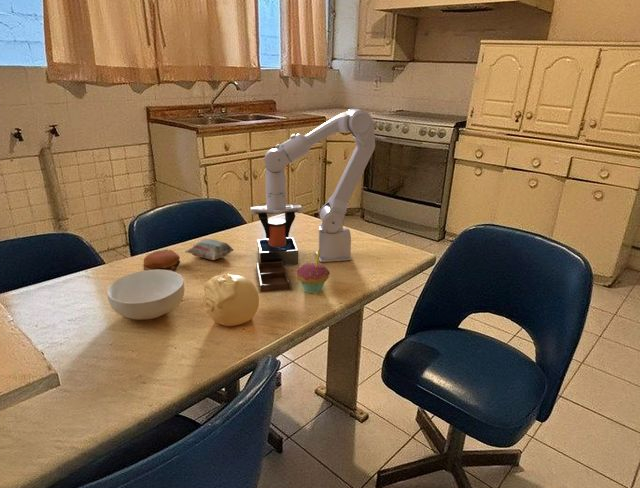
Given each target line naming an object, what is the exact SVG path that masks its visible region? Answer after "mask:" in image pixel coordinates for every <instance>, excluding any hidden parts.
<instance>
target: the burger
mask: <svg viewBox="0 0 640 488" xmlns="http://www.w3.org/2000/svg"><path fill="white" fill-rule="evenodd" d="M180 259H181V256H180V254H178V253H177V252H175V251H174V250H172V249H161V250H156V251H153V252H150V253H148V254H147V255H146V256H145V257H144V259H143V271H146V270H169V271H174V270H175V269H177V268H178V267H179V265H180V264H181V261H180Z"/></svg>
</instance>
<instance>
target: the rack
mask: <svg viewBox="0 0 640 488" xmlns="http://www.w3.org/2000/svg"><path fill="white" fill-rule="evenodd" d="M256 273H257V278H258V284H259V290H260V293H265V292H277V291H288V290H290V289H291V283H290V279H289V277H288V274H287V273H288V272H287V270H286V267H285V265H284V264H283V261H281V262H267V263H260V262H257V263H256Z"/></svg>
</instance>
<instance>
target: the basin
mask: <svg viewBox="0 0 640 488" xmlns="http://www.w3.org/2000/svg"><path fill="white" fill-rule="evenodd" d="M257 255H258V259H259V263H267V262H281V261H283V264H284V266H296V265H299V248H298V246H297V244H296V242H295V239H294V236H293V237H287V238H286V245H284V246H281V247H272V246H270V245H269V241H268V239H266V238H259V239H258V238H257Z"/></svg>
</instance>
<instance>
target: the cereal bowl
mask: <svg viewBox="0 0 640 488" xmlns="http://www.w3.org/2000/svg"><path fill="white" fill-rule="evenodd" d="M185 285H186V284H185V280H184V277H183V276H182V275H181V274H180V273H178V272H176V271H174V270H172V271H169V270H146V271H144V270H141V271H136V272H132V273H128V274H126V275H124V276H121V277H120V278H117V279H116V280H114V281H113V282H112V283H110V284H109V285H108V287H107V290H106V297H107V301H108V304H109V305H110V307H111V309H112V310H113V311H114V312H115V313H116V314H118V315H119V316H121V317H124V318H125V319H130V320H152V319H156V318H159V317H162V316H164V315H166V314H168V313H169V312H171V311H173V310H174V309H176V308H177V307H178V306H179V305H180V304H181V302H182V300H183V299H184V297H185V291H186V288H185V287H186V286H185Z"/></svg>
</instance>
